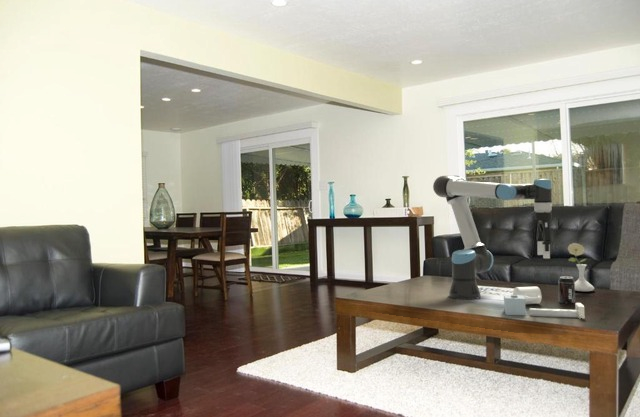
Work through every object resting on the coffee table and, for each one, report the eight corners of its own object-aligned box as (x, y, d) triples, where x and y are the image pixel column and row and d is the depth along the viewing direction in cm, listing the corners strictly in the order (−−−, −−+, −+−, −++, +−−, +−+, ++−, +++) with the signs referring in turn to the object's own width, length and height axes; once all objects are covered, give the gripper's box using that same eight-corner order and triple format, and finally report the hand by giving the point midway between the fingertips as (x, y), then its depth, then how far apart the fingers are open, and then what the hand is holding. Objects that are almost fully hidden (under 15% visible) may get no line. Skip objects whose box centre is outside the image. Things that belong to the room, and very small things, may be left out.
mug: (512, 302, 236) (512, 286, 236) (533, 301, 236) (532, 285, 236) (525, 308, 224) (525, 290, 224) (546, 307, 225) (546, 289, 224)
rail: (531, 316, 207) (531, 304, 207) (529, 313, 214) (529, 301, 214) (584, 318, 201) (584, 306, 201) (580, 314, 208) (580, 303, 208)
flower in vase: (598, 291, 257) (597, 243, 257) (587, 294, 251) (586, 244, 250) (573, 288, 268) (573, 241, 267) (562, 290, 261) (561, 243, 261)
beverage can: (576, 304, 228) (575, 278, 227) (559, 304, 230) (559, 278, 230) (574, 301, 234) (573, 276, 234) (558, 301, 236) (557, 275, 236)
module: (505, 314, 213) (505, 296, 213) (504, 310, 220) (503, 293, 220) (525, 315, 210) (525, 297, 210) (523, 311, 218) (523, 294, 217)
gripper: (557, 212, 222) (558, 259, 222) (545, 210, 246) (546, 253, 246) (539, 212, 223) (540, 259, 224) (529, 211, 248) (530, 253, 248)
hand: (543, 256), depth 235 cm, fingers open, 13 cm apart
